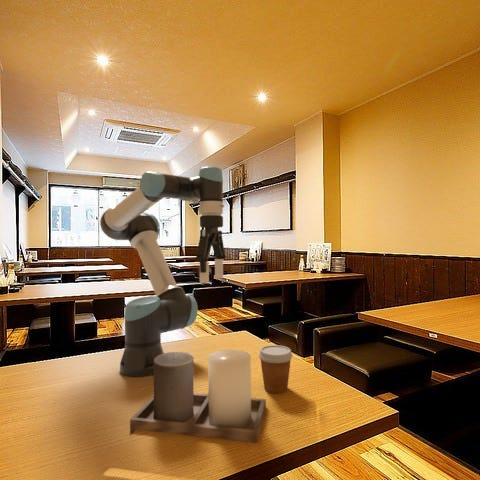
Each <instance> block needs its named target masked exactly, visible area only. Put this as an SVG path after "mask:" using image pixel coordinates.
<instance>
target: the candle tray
mask: <svg viewBox="0 0 480 480" xmlns="http://www.w3.org/2000/svg"><path fill="white" fill-rule="evenodd" d="M266 402H267V399H266V398H258V397H257V398H255V397H251V423H250V425H249V426H248V427H247V428H245V429H240V428H230V427H221V426H211V425H210V424H209V393H208V394H207V393H197V392H193V415H192V417H191V418H189V419H188V420H187V421H185V422H173V421H163V420H155V419H154V418H153V414H154V395H152V396H151V397H150V399H149V400H148V401H146V403H144V405H142V407H141V408H140V409H139V410H138V411H136V412H135V414H134V415H132V417H131V418H130V419H129V433H130V434H133V433H134V432H135V431H137V430H138V431H140V430H141V431H148V432H158V433H159V432H160V433H165V434H166V433H167V434H176V435H185V436H192V437H202V438H210V439H211V438H212V439H218V440H219V439H221V440H228V441H237V442H249V443H258V441H259V435H260V431H261V427H262V425H263V424H262V423H263V421H264V415H265V412H266V407H267V405H266V404H267V403H266Z"/></svg>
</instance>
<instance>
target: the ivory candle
mask: <svg viewBox="0 0 480 480" xmlns="http://www.w3.org/2000/svg"><path fill="white" fill-rule="evenodd" d="M251 356H252V355H251V354H250V353H249V352H248V351H245V350H241V349H232V348H231V349H230V348H229V349H222V350H221V349H220V350H215V351H213V352H210V354H209V355H208V357H207V365H208V368H207V370H208V371H207V374H208V375H207V376H208V378H207V379H208V381H207V382H208V384H207V385H208V389H207V391H208V392H207V393H208V394H209V424H210V425H211V426H221V427H230V428H240V429H245V428H247V427H248V426H249V425H250V423H251V398H252V368H251V367H252V361H251V360H252V357H251Z"/></svg>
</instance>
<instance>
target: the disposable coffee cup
mask: <svg viewBox="0 0 480 480" xmlns="http://www.w3.org/2000/svg"><path fill="white" fill-rule="evenodd" d="M258 357H259V359H260V364H261V366H260V367H261V372H262V373H261V374H262V379H263V388H264V390H265V392H267V393H269V394H272V395H281V394H285V393H286V392H287V391H288V387H289V386H288V385H289V379H290V378H289V377H290V368H291V360H292V357H293V352H292V350H291V348H289V347H288V346H284V345H279V344H273V345H265V346H262V347H261V348H260V350H259V353H258Z"/></svg>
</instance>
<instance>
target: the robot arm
mask: <svg viewBox="0 0 480 480" xmlns="http://www.w3.org/2000/svg"><path fill="white" fill-rule="evenodd" d="M223 179H224V178H223V171H222V169H221V168H220V167H217V166H203V167H201V168H200V169H199V173H198V176H193V177H189V176H183V175H175V174H169V173H161V172H159V171H146V172H145V171H144V173H142V174H141V178H140V180H139V186H138V187H136V189H135V190H134V191H132V192H131V193H130V194H129V195H128V196H126V197H125V198H124V199H122V201H120V202H119V203H118V204H117V205H116V206H111V207H109V208H108V209H106V210H105V211H104V212H103V214H101V217H100V221H99V223H100V224H99V226H100V228H101V230H102V232H103V233H104V234H105V235H106V236H107V237H108V238H110V239H112V240H116V241H128V242H129V243H130V244H129V245H130V246H131V248H133V249H136V250H137V253H138V256H139V257H140V260H141V262H142V266H143V267H144V271H145V272H146V274H147V278H148V280H149V281H150V284H151V286H152V289H153V291H154V293H155V296H153V295H151V296H143V297H138V298H135V299H133V300H131V301H128V303H126V305H125V307H124V308H125V309H124V315H123V317H124V349H123V352H122V357H121V359H120V362H119V363H120V364H119V372H120V373H121V374H122V375H124V376H126V377H127V376H128V377H146V376H150V375H151V376H152V375H154V359H155V358H156V357H157V356H159V355H161V354H164V353H165V352H164V350H163V346H162V339H161V336H162V335H161V334H164V333H167V332H172V331H177V330H184V329H185V328H187V327H190V326H193V325H194V323H195V321H196V319H197V316H198V309H199V308H198V303H197V301H196V300H197V299H195V297H194V296H193V295H191V294H186V292H185V290H184V288H183V287H182V286H178V285H177V282H176V280H175V278H174V275H173V274H172V272H171V270H170V267H169V265H168V263H167V261H166V259H165V256H164V254H163V251H162V250H161V247H160V246H159V243H158V241H157V240H158V238H159V234H160V231H161V230H160V222H159V221H158V218H157V217H156V216H155V215H154V214H151V213H150V212H149V213H148V212H147V213H146V211H147V210H149V209H150V208H151V207H153V206H154V205H156V204H157V203H158V202H159V201H161V200H162V199H164V198H168V199H176V200H177V199H179V200H181V201H185V202H186V201H187V202H190V201H194V200H199V214H200V217H199V226H200V228H204V229H200V230H199V231H200V232H199V239H198V247H197V251H196V257H195V261H196V262H197V263H199V284H210V266H209V265H210V264H209V263H210V262H209V257H210V253H211V250H213V253H214V256H215V259H214V278H215V279H223V278H224V260H226V252H225V246H224V241H223V231H222V230H219V228H223V227H224V216H223V214H224V212H223V211H224V210H223V209H224V208H225V204H224V203H223V201H224V200H223V198H224V197H223V196H224V195H223V187H224V186H223V185H224V180H223Z"/></svg>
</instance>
